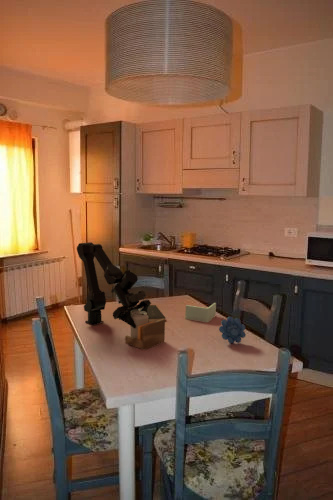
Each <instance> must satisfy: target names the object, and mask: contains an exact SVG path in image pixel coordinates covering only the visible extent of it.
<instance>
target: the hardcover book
mask: <svg viewBox="0 0 333 500" xmlns="http://www.w3.org/2000/svg"><path fill="white" fill-rule="evenodd" d="M135 311H138V310H134V311H130V314H131V316H132V313H133V312H135ZM147 314H148V319H149V323H150V322H152V321H154V322H155V321H158V320H160V319H165V320H166V316H165V315H164V314H163V312H162V311H161V310H160V309H159V308H158V306H157V305H156V304H151V305H150V306H149V307H148V308H147Z"/></svg>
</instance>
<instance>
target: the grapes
mask: <svg viewBox="0 0 333 500" xmlns="http://www.w3.org/2000/svg"><path fill="white" fill-rule="evenodd" d="M220 324H221V326H219V328H218V331H219V332H220V333H221V338H222V339H223V340H225V341H226V340H227V341H228V343H229V344H231V343H233V344H235V343H238V344H240V343H241V342H242V339H244V338H245V337H246V332H245V330H246V325H244V324H243V323H242V322H241V319H240V318H237V317H236V318H234V317H233V316H228V317H227V318H226V319H222V320H221V322H220Z"/></svg>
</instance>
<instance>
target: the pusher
mask: <svg viewBox="0 0 333 500" xmlns="http://www.w3.org/2000/svg"><path fill="white" fill-rule="evenodd" d="M152 322H155V321H152ZM152 322H149V323H152ZM149 323H147V324H149ZM144 325H146V324H144ZM142 337H143V325H141V326H138V339H139V340H142Z"/></svg>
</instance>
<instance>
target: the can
mask: <svg viewBox="0 0 333 500" xmlns="http://www.w3.org/2000/svg"><path fill="white" fill-rule="evenodd" d="M131 317H132V319H133V321H134V323H135V325H136V328H133V327H132V326H130V337H133V338H136V339H138V326H141V325H144V324H147V323H148V315H147V313H146V312H144V311H135V312H133V313H132V316H131Z"/></svg>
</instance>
